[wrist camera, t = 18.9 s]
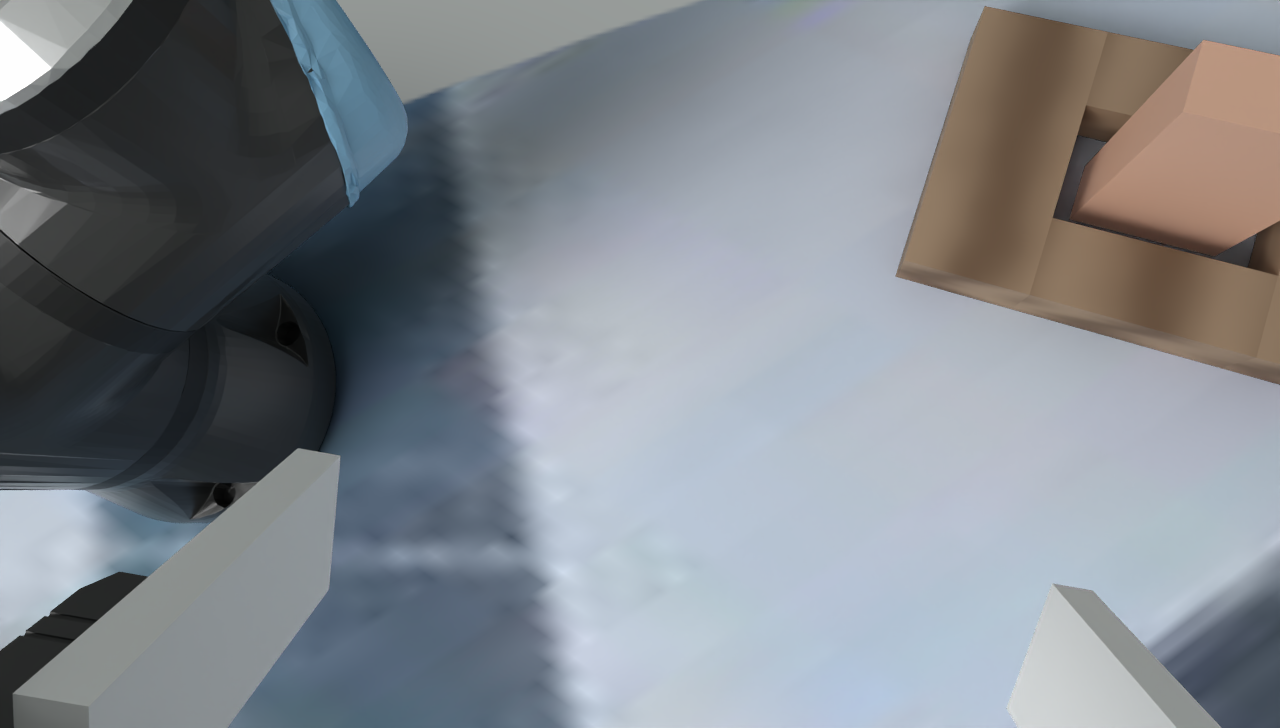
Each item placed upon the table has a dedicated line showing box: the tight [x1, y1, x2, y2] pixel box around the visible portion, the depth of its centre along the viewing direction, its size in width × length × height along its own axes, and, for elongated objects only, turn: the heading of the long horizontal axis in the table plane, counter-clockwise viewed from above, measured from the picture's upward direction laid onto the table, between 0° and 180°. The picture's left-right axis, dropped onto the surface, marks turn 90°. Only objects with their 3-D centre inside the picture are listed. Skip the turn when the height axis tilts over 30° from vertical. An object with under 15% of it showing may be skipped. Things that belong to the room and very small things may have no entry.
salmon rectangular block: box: [1069, 40, 1280, 256], centre depth 36 cm, size 7×3×12 cm, turn 70°
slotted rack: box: [896, 6, 1280, 385], centre depth 40 cm, size 22×14×3 cm, turn 70°
